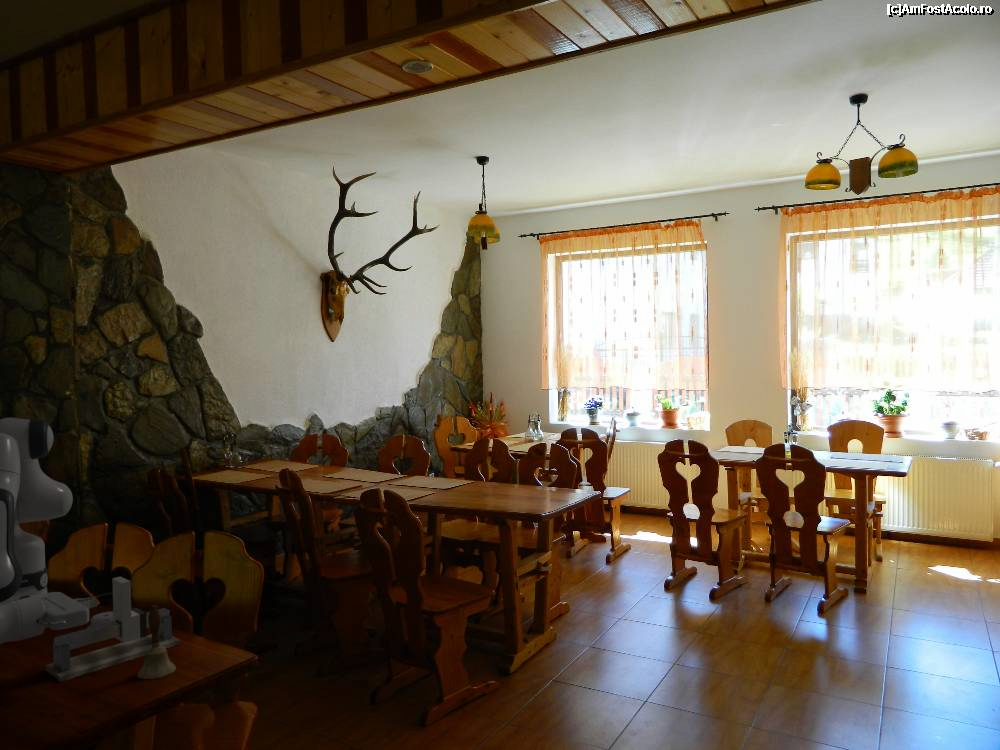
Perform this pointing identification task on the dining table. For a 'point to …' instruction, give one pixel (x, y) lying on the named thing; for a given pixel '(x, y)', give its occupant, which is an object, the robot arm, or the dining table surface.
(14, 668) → the dining table surface
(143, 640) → the base board
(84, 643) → the grey clamp fixture
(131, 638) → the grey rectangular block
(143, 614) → the dark grey rubber pad
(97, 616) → the mechanical component
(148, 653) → the hand bell
